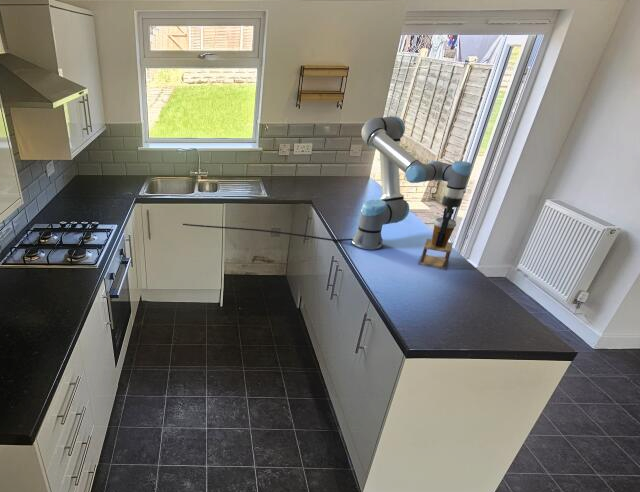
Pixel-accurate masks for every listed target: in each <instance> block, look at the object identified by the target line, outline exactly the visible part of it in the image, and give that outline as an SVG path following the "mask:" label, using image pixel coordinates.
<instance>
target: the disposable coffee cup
mask: <svg viewBox="0 0 640 492" xmlns="http://www.w3.org/2000/svg"><path fill="white" fill-rule="evenodd" d="M442 222H443V217H437V218H435V220H434V221H433V231H432V238H431V239H432V245H434V246H435V245H436V241H437V238H438V235H439V233H438V232H440V229H441V226H442ZM456 227H457V221H456V220H455V219H452V218H451V220H449V223H448V226H447V229H446V234H445V237H444V240H443V244H442V247H445V246H446V245H447V242H449V240H450V239H451V236H452V234H453V231H454V229H455V228H456Z"/></svg>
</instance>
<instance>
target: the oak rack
mask: <svg viewBox="0 0 640 492" xmlns="http://www.w3.org/2000/svg"><path fill="white" fill-rule="evenodd" d="M453 244H454V242H450V241H448V242H447V245H446V246H445V247H437V246H434V245H432V238H426V241H425V244H424V246H423V251H422V253H421V257H420V260H419V265H422V266H427V267H432V268H437V269H442V270H446V268H447V264H448V262H449V259H450V255H451V253H452V249H453V246H454V245H453ZM428 250H430V251H435V252H442V253H445V256H444V257H441V256H435V255H430V254H427V253H428Z"/></svg>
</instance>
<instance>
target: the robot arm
mask: <svg viewBox="0 0 640 492" xmlns="http://www.w3.org/2000/svg"><path fill="white" fill-rule="evenodd" d="M405 132H406V125H405V122H404V121H403V119H402V118H400V117H398V116H383V117H382V116H381V117H373V118H370V119H368V120H367V121H366V122H365V123H364V124H363V125H362V128H361V132H360V133H361V138H362V140H363V142H364V143H365V144H366V145H367V146H368V147H370V148H371V149H372V148H374V149H376V150H377V151H378V152H379V158H380V159H379V161H380V177H381V193H382V196H381V197H380V198H379V199H370V200H367V201H365V202H364V203H363V204H362V208H361V210H360V215H359V216H360V217H359V221H358V227H357V230H356V232H355V234H354V236H353V238H328V237H321V236H316V235H315V236H314V235H307V234H302V233H294V232H286V231H279V230H270V229H259V228H248V227H247V228H246V227H235V226H219V225H207V224H206V225H205V224H195V223H194V224H192V223H184V222H183V223H182V226H188V227H199V228H212V229H213V228H214V229H227V230H241V231H242V230H243V231H252V232H253V231H254V232H264V233H265V232H266V233H273V234H282V235H283V234H284V235H291V236H296V237H297V236H298V237H304V238H311V239H316V240H324V241H329V242H330V241H332V242H345V241H346V242H347V241H351V244H352V246H354V247H355V248H358V249H362V250H367V251H369V250H370V251H375V250H379V249H381V248H382V246H383V237H382V229H383V225H389V224H397V223H400V222H402V221H404V220H405V219H406V218H407V217H408V215H409V214H410V204H409V202H408V201H407V200H406V199H405V197H404V194H402V193H401V184H400V183H401V182H400V181H401V180H400V170H401V171H402V172H403V173H404V174H405V175H404V176H405V179H406V181H407V182H408V183H410V184H419V183H425V182H430V181H437V180H438V181H442V182H446V186H445V190H444V193H443V195H444V196H443V198H442V201H441V205H442V206H444V209H443V215H442V218H443V222H442V226H441V229H440V232H438V233H439V235H438V238H437V241H436V245H435V246H437V247H442V244H443V240H444V237H445V234H446V229H447V226H448V223H449V220H451V219H452V218H453V217H452V216H453V215H454V212H455V209H454V208H459V207H460V206H461V204H462V200H463V197H464V194H466V187H467V185H468V180H469V178H470V175H471V170H472V166H473V165H472V163H471V162H469V161H463V160H456V161H454V162H453V163H452V164H451V163H447V162H442V161H440V160H439V161H437V160H431V161H430V162H428V163H426V164H425V163H423V162H421V160H419V159H418V158H416V157H415V156H414V155H413V154H412V153H410V152H409V151H407V149H405V148H404V147H402V146H401V145H400V143H401V139H402V138H403V137H404V134H405Z"/></svg>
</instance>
